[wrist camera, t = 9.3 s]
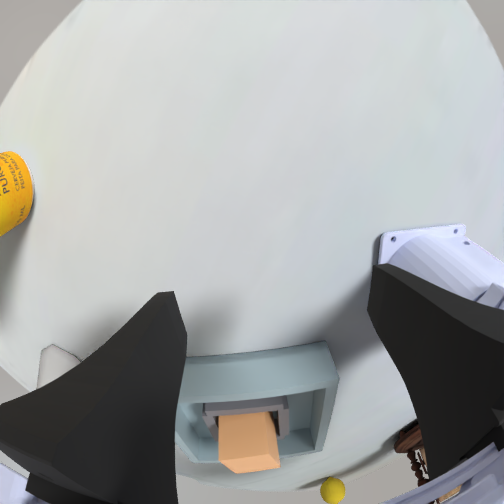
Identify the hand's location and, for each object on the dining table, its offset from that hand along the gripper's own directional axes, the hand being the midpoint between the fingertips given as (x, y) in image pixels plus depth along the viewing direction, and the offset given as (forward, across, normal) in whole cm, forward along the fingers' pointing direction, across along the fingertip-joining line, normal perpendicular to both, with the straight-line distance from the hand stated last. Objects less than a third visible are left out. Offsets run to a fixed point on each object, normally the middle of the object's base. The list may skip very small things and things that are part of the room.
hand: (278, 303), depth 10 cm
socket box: (+9, +3, +20) cm, 22 cm away
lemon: (+10, -11, +61) cm, 63 cm away
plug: (+8, +3, +20) cm, 22 cm away
